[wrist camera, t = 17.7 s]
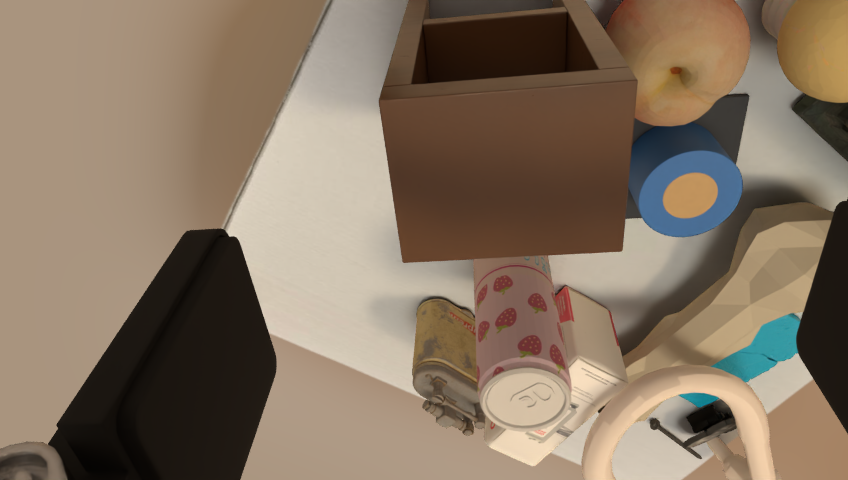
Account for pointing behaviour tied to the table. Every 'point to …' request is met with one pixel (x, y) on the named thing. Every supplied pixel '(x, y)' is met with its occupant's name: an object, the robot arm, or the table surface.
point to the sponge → (757, 354)
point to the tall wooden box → (508, 134)
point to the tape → (683, 180)
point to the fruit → (680, 54)
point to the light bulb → (811, 44)
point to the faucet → (745, 475)
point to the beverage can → (519, 344)
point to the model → (826, 121)
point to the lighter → (447, 365)
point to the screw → (656, 425)
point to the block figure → (708, 425)
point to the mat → (718, 120)
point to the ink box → (572, 378)
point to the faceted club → (741, 293)
